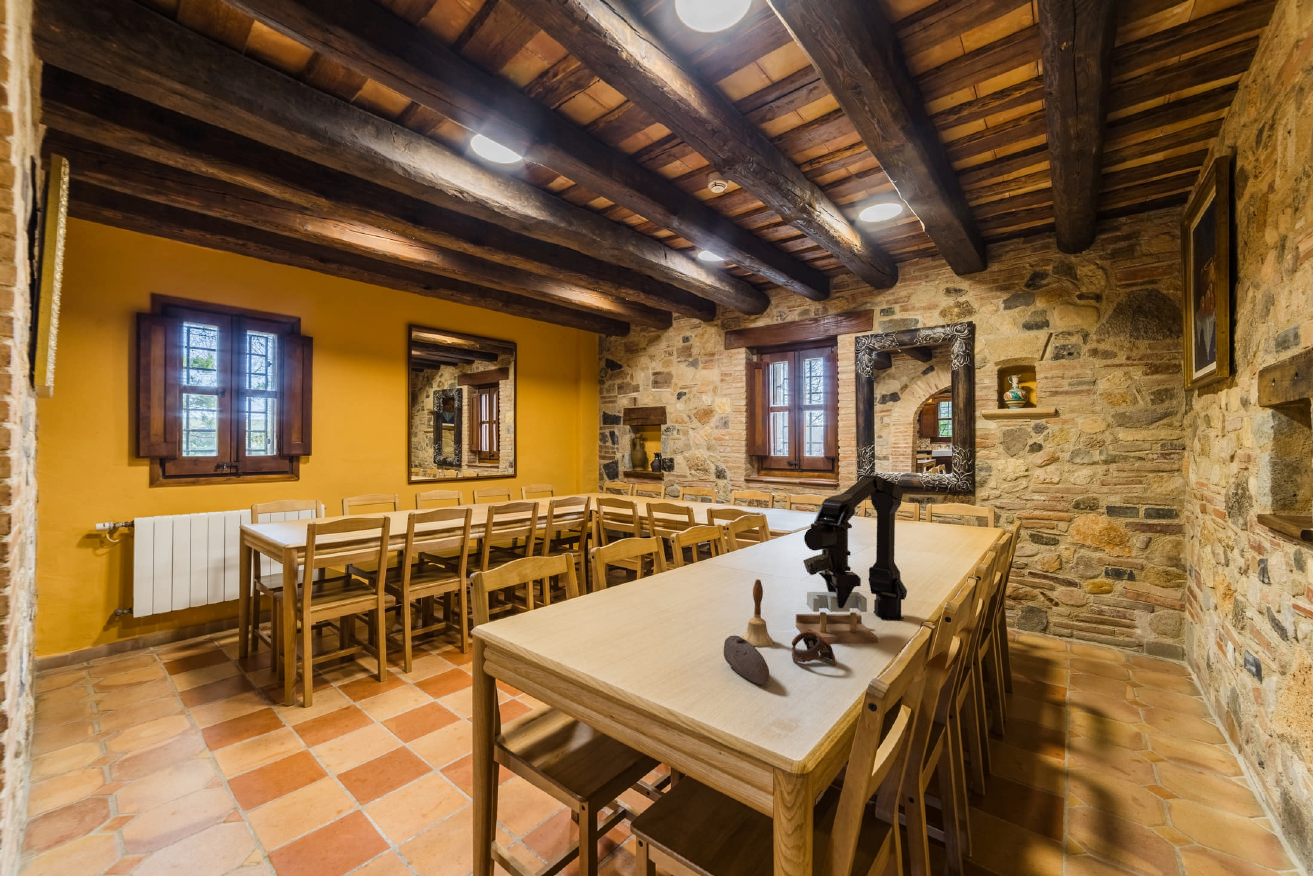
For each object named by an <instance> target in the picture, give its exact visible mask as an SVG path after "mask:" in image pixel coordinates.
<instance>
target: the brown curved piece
mask: <svg viewBox="0 0 1313 876" xmlns="http://www.w3.org/2000/svg"><path fill="white" fill-rule="evenodd" d="M816 638H818V640H816ZM801 641H802V642H803V643H804V645H805V647H806V649H804V650H800V649H797V648H796V646H797V645H798V644H799V642H801ZM791 646H792V648H791V658H792V661H793V663H794V664H796V662H798V663H806V662H811V661H818V662H821V659H829V660H832V662H833V667H836V666H837V663H836V662H837V661H836V657H835V654H834V650H833V648H832V645H831V643H829V642H828V641H827V640H826V639H825V638H823V637H822V636H820V635H819V634H818V633H816V632H815V631H812V630H807V631H805V632H802V633H800V632H799V634H797V635H795V636H794V638H793V639H792V641H791ZM820 658H821V659H820Z"/></svg>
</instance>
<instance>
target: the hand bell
mask: <svg viewBox="0 0 1313 876" xmlns="http://www.w3.org/2000/svg"><path fill="white" fill-rule="evenodd" d="M763 595H764V589H763V585H762V581H761V579H755V582H754V585H753V588H752V598H753V601H754V611H753V617H751V618H749V619H748V624H747V627H746V631H745V632H744V634H743V635H742V636H740V637H741V638H743V639H745V640H746V641H748V642H749V643H751V644H752V645H753V646H755V648H766V646H767V647H770V646H772V645H773V644H774V640H773V638H772V637H771V636H770V635H769V633H768V632H769V631H768V629H767V628H768V627H767V622H766V621H767V620H765V619H764V618H762V607H761V605H762V600H763ZM771 644H772V645H771ZM764 646H765V647H764Z"/></svg>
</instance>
